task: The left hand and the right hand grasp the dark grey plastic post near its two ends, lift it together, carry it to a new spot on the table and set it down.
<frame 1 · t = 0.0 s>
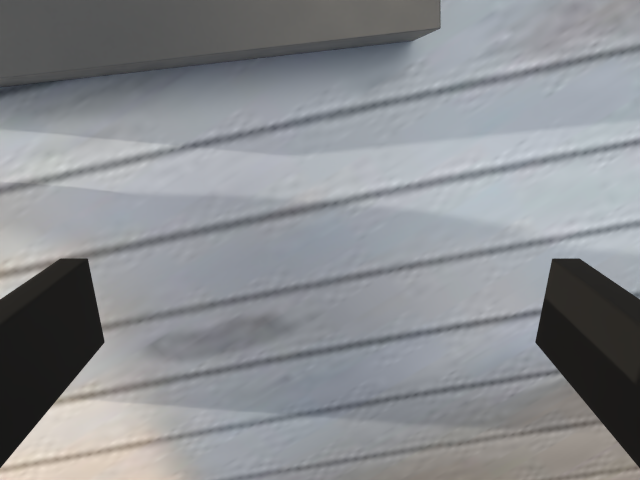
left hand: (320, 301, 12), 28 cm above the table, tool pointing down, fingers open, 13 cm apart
post: (87, 44, 36), on the table
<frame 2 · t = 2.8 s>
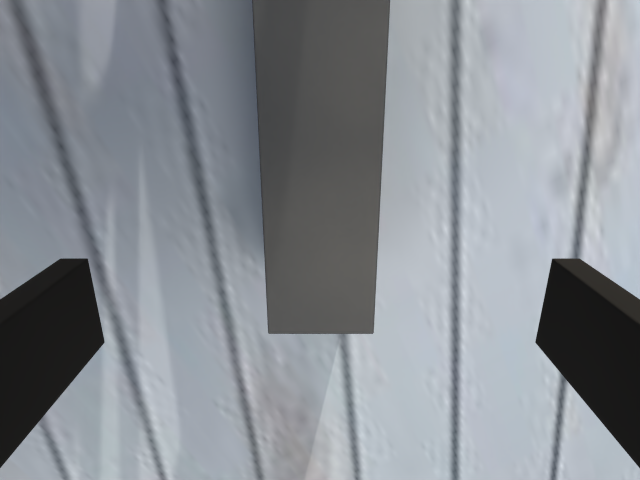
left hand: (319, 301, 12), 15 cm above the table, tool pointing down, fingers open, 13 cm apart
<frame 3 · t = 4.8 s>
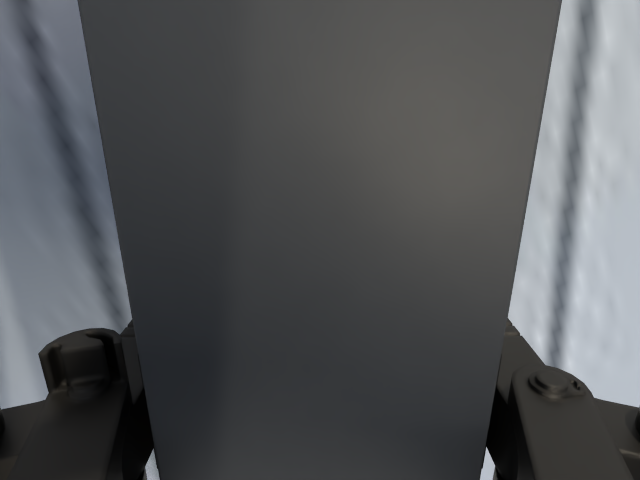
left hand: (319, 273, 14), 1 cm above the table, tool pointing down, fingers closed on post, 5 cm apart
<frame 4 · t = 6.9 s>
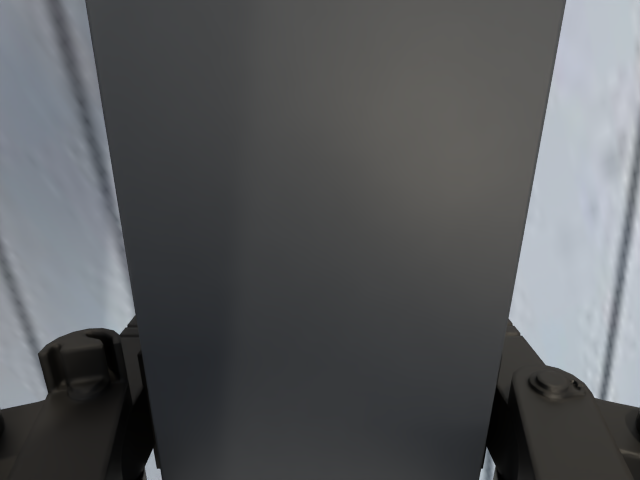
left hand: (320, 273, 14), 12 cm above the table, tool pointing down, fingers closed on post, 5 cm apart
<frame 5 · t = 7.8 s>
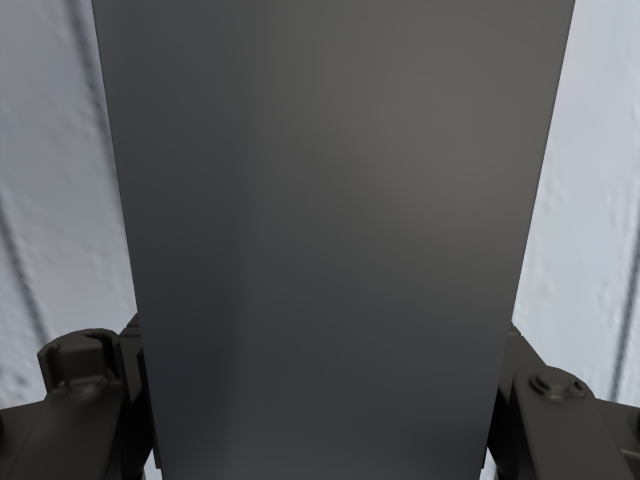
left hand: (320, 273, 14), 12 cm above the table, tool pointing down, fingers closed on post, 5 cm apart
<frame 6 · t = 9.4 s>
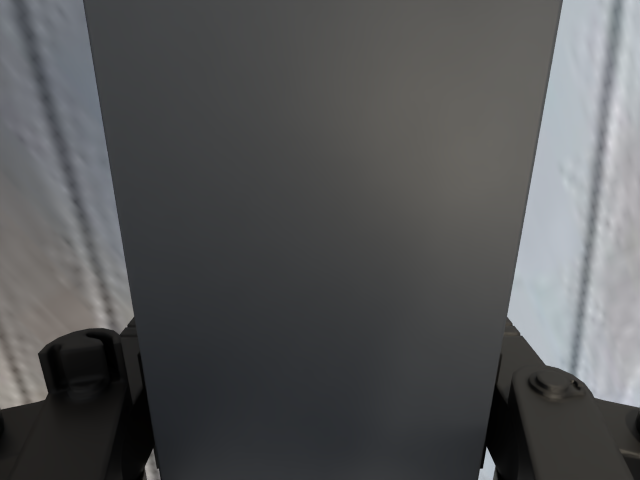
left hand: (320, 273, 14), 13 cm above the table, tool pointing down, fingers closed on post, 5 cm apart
when the left hand's fingers open (2 cm above the table, at t = 10.9 s): post drops 1 cm, on the table.
when the right hand's fingers open (2 cm above the table, at t = 10.9 s): post drops 1 cm, on the table.
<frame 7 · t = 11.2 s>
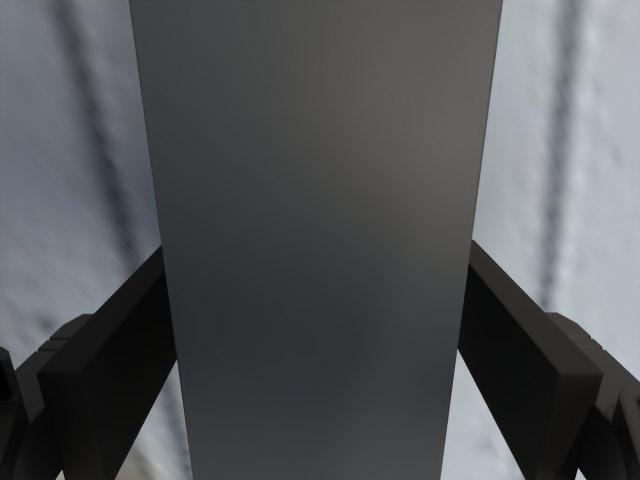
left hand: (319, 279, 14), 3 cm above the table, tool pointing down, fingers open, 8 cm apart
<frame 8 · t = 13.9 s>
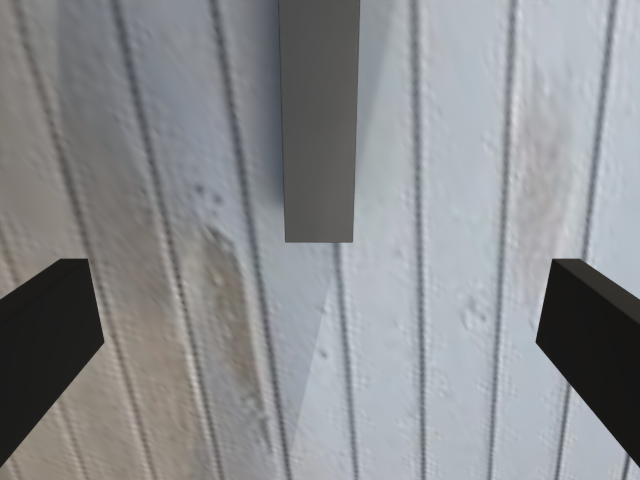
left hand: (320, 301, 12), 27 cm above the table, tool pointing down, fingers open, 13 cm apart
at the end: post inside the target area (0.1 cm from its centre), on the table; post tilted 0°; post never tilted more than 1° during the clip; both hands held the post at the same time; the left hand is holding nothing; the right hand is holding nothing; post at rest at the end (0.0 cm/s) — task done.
